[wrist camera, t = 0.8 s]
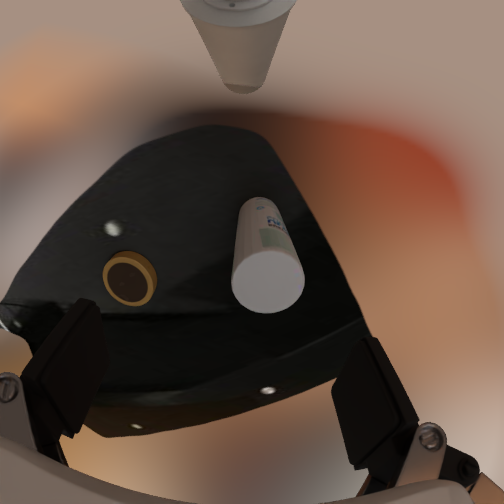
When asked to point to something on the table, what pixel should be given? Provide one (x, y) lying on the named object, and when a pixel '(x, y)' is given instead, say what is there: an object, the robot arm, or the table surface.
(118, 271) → the stand
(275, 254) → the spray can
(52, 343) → the robot arm
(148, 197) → the table surface
